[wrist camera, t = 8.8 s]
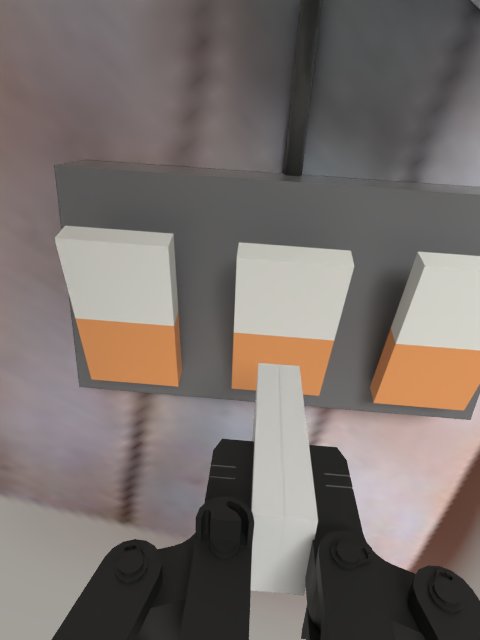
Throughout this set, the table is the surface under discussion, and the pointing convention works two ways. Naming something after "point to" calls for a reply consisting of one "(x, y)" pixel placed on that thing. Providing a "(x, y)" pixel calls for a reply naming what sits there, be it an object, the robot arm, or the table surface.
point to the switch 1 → (124, 302)
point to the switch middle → (287, 310)
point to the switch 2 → (433, 336)
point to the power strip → (275, 229)
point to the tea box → (476, 3)
